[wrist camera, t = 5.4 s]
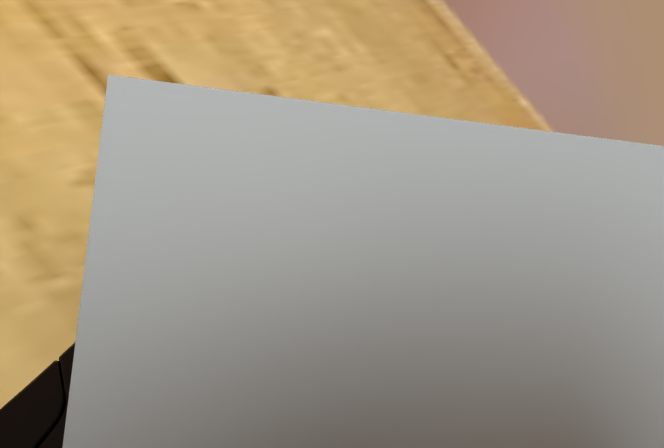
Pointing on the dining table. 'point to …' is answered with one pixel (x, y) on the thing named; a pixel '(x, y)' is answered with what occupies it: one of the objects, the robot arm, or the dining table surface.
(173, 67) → the dining table surface
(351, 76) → the dining table surface
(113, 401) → the gray block
